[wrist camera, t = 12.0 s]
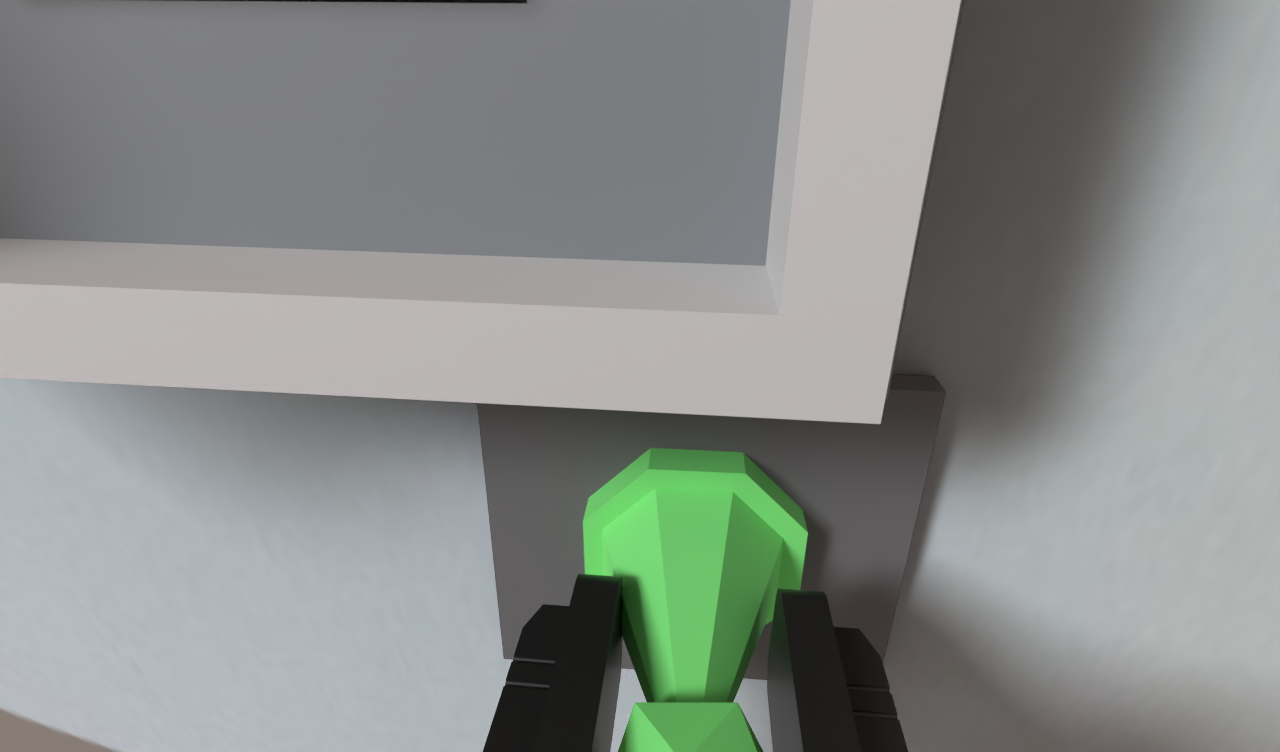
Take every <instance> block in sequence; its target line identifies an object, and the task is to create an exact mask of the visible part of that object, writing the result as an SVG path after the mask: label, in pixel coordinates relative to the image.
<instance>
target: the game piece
mask: <svg viewBox="0 0 1280 752" xmlns="http://www.w3.org/2000/svg"><path fill="white" fill-rule="evenodd" d="M807 536H808V531H807V526H806V522H805V518H804V514H803V510H802V509H801V508H800V507H799V506H798V505H797V504H796V503H795V502H794V501H793V500H792V499H791V498H790V497H789V496H788V495H787V494H786V493H785V492H784V491H783V490H782V489H781V488H780V487H779V486H778V485H777V484H775V483H774V482H773V481H772V480H771V479H770V478H769V477H768V476H767V475H766V474H765V473H764V472H763V471H762V470H761V469H760V468H759V467H758V466H757V465H756V464H755V463H754V462H753V461H752V460H751V459H749V458H748V457H747V456H746V455H745V454H744V453H743V452H726V451H705V450H685V449H664V448H650V449H649V450H647V451H646V452H645V453H644V454H643V455H641V456H640V457H639V458H638V459H636V460H635V461H634V462H633V463H631V464H630V465H629V466H628V467H626V468H625V469H624V470H623V471H621V472H620V473H619V474H618V475H616V476H615V477H614V478H613V479H611V480H610V481H609V482H608V483H606V484H605V485H604V486H603V487H601V488H600V489H599V490H598V491H596V492H595V493H594V494H593V495H591V496H590V497H589V498H588V502H587V506H586V511H585V515H584V519H583V538H584V563H585V574H590V575H604V576H618V577H622V582H623V588H622V637H623V640H624V642H625V645H626V648H627V650H628V653H629V656H630V658H631V661H632V664H633V666H634V669H635V672H636V674H637V677H638V680H639V682H640V685H641V688H642V690H643V693H644V696H645V698H646V701H647V703H635V704H634V707H633V710H632V713H631V716H630V719H629V721H628V724H627V727H626V730H625V733H624V736H623V739H622V742H621V744H620V747H619V750H618V752H763V750H762V748H761V746H760V745H759V743H758V741H757V739H756V737H755V735H754V733H753V731H752V729H751V727H750V725H749V723H748V721H747V719H746V717H745V715H744V713H743V711H742V710H741V708H740V706H739V704H738V703H733V701H734V699H735V696H736V694H737V691H738V689H739V687H740V684H741V682H742V679H743V677H744V675H745V672H746V670H747V667H748V665H749V662H750V660H751V658H752V655H753V653H754V650H755V648H756V645H757V643H758V641H759V638H760V636H761V633H762V631H763V628H764V626H765V625H766V624H768V623H769V622H771V621H772V620H773V615H774V608H775V600H776V594H777V590H778V589H793V590H800V587H801V580H802V573H803V565H804V558H805V551H806V543H807Z"/></svg>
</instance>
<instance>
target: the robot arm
mask: <svg viewBox="0 0 1280 752" xmlns="http://www.w3.org/2000/svg"><path fill="white" fill-rule="evenodd" d="M622 588H623V582H622V577H618V576H604V575H590V574H578V575H577V578H576V581H575V585H574V589H573V593H572V597H571V601H570V605H569V606H560V605H547V604H543V605H542V606H541V607H540V608H539V610H538V611H537V612H536V613H535V614H534V615H533V616H532V618H531V619H530V620H529V621H528V622H527V623H526V624H525V626H524V627H523V628H522V631H521V634H520V638H519V641H518V644H517V647H516V650H515V653H514V658H513V662H511V666H510V669H509V672H508V675H507V678H506V684H505V686H504V687H503V690H502V694H501V697H500V700H499V703H498V706H497V709H496V712H495V715H494V718H493V722H492V725H491V728H490V731H489V734H488V737H487V740H486V743H485V746H484V750H483V752H610V749H611V742H612V734H613V727H614V720H615V713H616V705H617V698H618V691H619V684H620V675H621V663H622V643H623V637H622ZM889 688H890V687H889V684H888V680H887V677H886V674H885V670H884V667H883V663H882V660H881V656H880V655H879V654H878V652H877V651H876V650H875V648H874V647H873V646H872V645H871V643H870V642H869V641H868V639H867V638H866V637H865V635H864V634H863V633H862V632H861V630H860V629H858V628H845V627H834V626H833V622H832V617H831V613H830V608H829V604H828V600H827V596H826V594H825V592H821V591H807V590H793V589H778V590H777V594H776V600H775V608H774V615H773V623H772V631H771V638H770V646H769V654H768V667H767V689H768V703H769V713H770V723H771V734H772V744H773V752H908V750H907V746H906V743H905V739H904V736H903V732H902V729H901V725H900V722H899V720H897V712H896V708H895V705H894V701H893V698H892V694H890V692H889Z"/></svg>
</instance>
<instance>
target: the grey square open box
mask: <svg viewBox="0 0 1280 752" xmlns="http://www.w3.org/2000/svg"><path fill="white" fill-rule="evenodd" d="M963 3H964V0H0V378H11V379H30V380H49V381H69V382H88V383H107V384H126V385H145V386H164V387H183V388H202V389H221V390H240V391H259V392H278V393H297V394H316V395H335V396H354V397H373V398H392V399H411V400H430V401H449V402H468V403H487V404H506V405H525V406H544V407H563V408H582V409H602V410H621V411H640V412H659V413H678V414H697V415H716V416H735V417H754V418H773V419H792V420H811V421H830V422H849V423H868V424H881V419H882V414H883V409H884V403H885V400H888V394H889V389H890V384H891V379H892V373H893V368H894V363H895V358H896V353H897V347H898V342H899V337H900V332H901V326H902V321H903V316H904V311H905V306H906V300H907V295H908V290H909V285H910V279H911V274H912V269H913V264H914V259H915V253H916V248H917V243H918V238H919V232H920V227H921V222H922V217H923V212H924V206H925V201H926V196H927V191H928V185H929V180H930V175H931V170H932V165H933V159H934V154H935V149H936V144H937V138H938V133H939V128H940V123H941V118H942V112H943V107H944V102H945V97H946V91H947V86H948V81H949V76H950V71H951V65H952V60H953V55H954V50H955V44H956V39H957V34H958V29H959V24H960V18H961V13H962V8H963Z"/></svg>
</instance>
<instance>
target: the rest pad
mask: <svg viewBox="0 0 1280 752" xmlns="http://www.w3.org/2000/svg"><path fill="white" fill-rule="evenodd" d="M945 393H946V392H945V390H944V389H943V387H942V386H941V385H940V383H939V382H938V380H937V379H936V378H935V376H914V375H892V379H891V384H890V389H889V394H888V400H885V403H884V409H883V414H882V419H881V424H868V423H849V422H830V421H811V420H792V419H773V418H754V417H735V416H716V415H697V414H678V413H659V412H640V411H621V410H602V409H582V408H563V407H544V406H525V405H506V404H487V403H477V406H478V415H479V425H480V434H481V444H482V454H483V463H484V473H485V483H486V492H487V502H488V511H489V521H490V531H491V540H492V550H493V560H494V569H495V579H496V588H497V598H498V608H499V617H500V627H501V637H502V646H503V656H504V659H513V658H514V653H515V650H516V647H517V644H518V641H519V638H520V634H521V631H522V628H523V627H524V626H525V624H526V623H527V622H528V621H529V620H530V619H531V618H532V616H533V615H534V614H535V613H536V612H537V611H538V610H539V608H540V607H541V606H542V605H543V604H547V605H560V606H569V605H570V601H571V597H572V593H573V589H574V585H575V581H576V578H577V575H578V574H585V563H584V538H583V519H584V515H585V511H586V506H587V502H588V498H589V497H590V496H591V495H593V494H594V493H595V492H596V491H598V490H599V489H600V488H601V487H603V486H604V485H605V484H606V483H608V482H609V481H610V480H611V479H613V478H614V477H615V476H616V475H618V474H619V473H620V472H621V471H623V470H624V469H625V468H626V467H628V466H629V465H630V464H631V463H633V462H634V461H635V460H636V459H638V458H639V457H640V456H641V455H643V454H644V453H645V452H646V451H647V450H649V449H650V448H664V449H685V450H705V451H726V452H743V453H744V454H745V455H746V456H747V457H748V458H749V459H751V460H752V461H753V462H754V463H755V464H756V465H757V466H758V467H759V468H760V469H761V470H762V471H763V472H764V473H765V474H766V475H767V476H768V477H769V478H770V479H771V480H772V481H773V482H774V483H775V484H777V485H778V486H779V487H780V488H781V489H782V490H783V491H784V492H785V493H786V494H787V495H788V496H789V497H790V498H791V499H792V500H793V501H794V502H795V503H796V504H797V505H798V506H799V507H800V508H801V509H802V510H803V514H804V518H805V522H806V526H807V531H808V536H807V543H806V551H805V558H804V565H803V573H802V580H801V587H800V590H807V591H821V592H825V594H826V596H827V600H828V604H829V608H830V613H831V617H832V622H833V626H834V627H845V628H858V629H860V630H861V632H862V633H863V634H864V635H865V637H866V638H867V639H868V641H869V642H870V643H871V645H872V646H873V647H874V648H875V650H876V651H877V652H878V654H879V655H880V656H881V660H882V663H883V660H884V656H885V652H886V647H887V643H888V639H889V634H890V630H891V626H892V622H893V617H894V613H895V609H896V604H897V600H898V596H899V591H900V587H901V583H902V578H903V574H904V570H905V566H906V561H907V557H908V553H909V548H910V544H911V540H912V535H913V531H914V527H915V522H916V518H917V514H918V510H919V505H920V501H921V497H922V492H923V488H924V484H925V479H926V475H927V471H928V466H929V462H930V458H931V454H932V449H933V445H934V441H935V436H936V432H937V428H938V423H939V419H940V415H941V410H942V406H943V402H944V398H945ZM772 623H773V620H772V621H771V622H769V623H768V624H766V625H765V626H764V628H763V631H762V633H761V636H760V638H759V641H758V643H757V645H756V648H755V650H754V653H753V655H752V658H751V660H750V662H749V665H748V667H747V670H746V672H745V675H744V677H743V678H748V679H761V680H767V667H768V654H769V646H770V638H771V631H772ZM621 668H625V669H634V666H633V664H632V661H631V658H630V656H629V653H628V650H627V648H626V645H625V642H624V640H623V643H622V663H621Z"/></svg>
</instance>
